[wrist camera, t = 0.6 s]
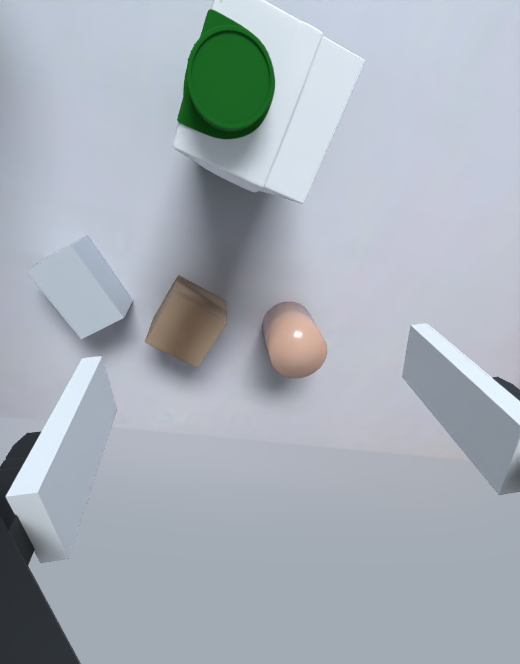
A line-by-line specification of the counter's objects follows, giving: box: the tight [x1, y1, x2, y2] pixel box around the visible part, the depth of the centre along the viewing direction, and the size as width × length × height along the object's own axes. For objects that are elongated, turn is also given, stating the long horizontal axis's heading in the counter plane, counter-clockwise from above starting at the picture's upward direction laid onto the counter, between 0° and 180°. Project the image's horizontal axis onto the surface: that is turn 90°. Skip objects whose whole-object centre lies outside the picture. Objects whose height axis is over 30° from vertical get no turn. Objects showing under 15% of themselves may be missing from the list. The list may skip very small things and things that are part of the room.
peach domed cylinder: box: [262, 302, 327, 378], centre depth 42 cm, size 6×6×7 cm
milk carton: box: [173, 0, 365, 204], centre depth 26 cm, size 9×9×20 cm
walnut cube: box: [145, 275, 227, 368], centre depth 40 cm, size 6×6×6 cm
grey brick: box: [26, 235, 133, 339], centre depth 38 cm, size 8×5×5 cm, turn 26°
